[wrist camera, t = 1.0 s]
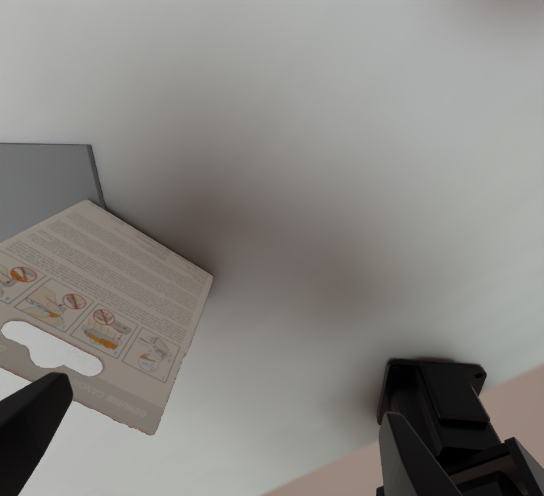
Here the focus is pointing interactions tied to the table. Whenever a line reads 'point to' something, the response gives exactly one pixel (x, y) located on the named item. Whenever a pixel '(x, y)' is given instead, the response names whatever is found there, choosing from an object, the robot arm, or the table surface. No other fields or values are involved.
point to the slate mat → (43, 183)
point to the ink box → (103, 308)
